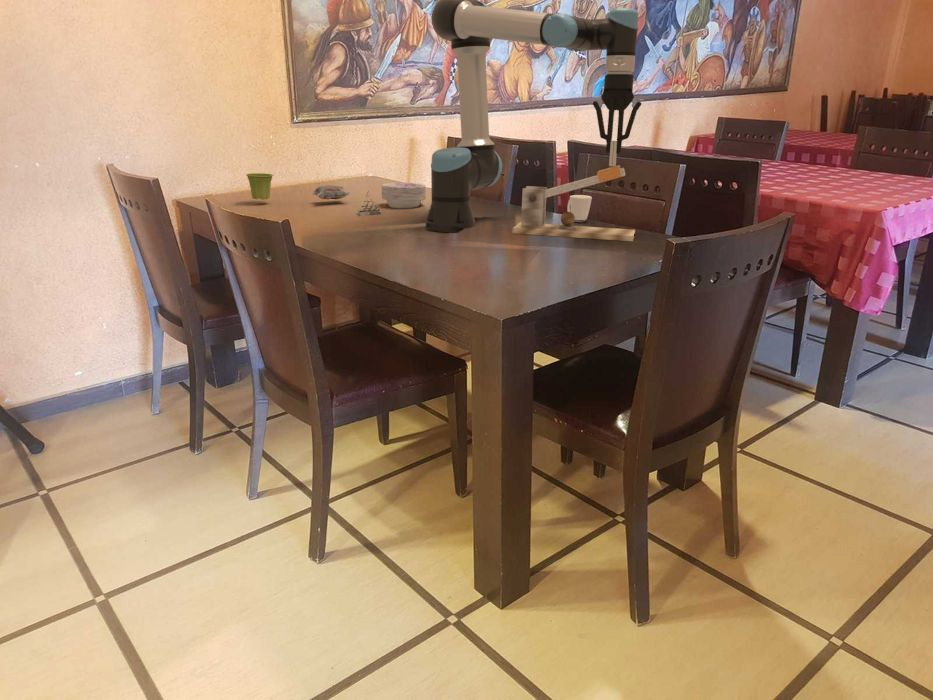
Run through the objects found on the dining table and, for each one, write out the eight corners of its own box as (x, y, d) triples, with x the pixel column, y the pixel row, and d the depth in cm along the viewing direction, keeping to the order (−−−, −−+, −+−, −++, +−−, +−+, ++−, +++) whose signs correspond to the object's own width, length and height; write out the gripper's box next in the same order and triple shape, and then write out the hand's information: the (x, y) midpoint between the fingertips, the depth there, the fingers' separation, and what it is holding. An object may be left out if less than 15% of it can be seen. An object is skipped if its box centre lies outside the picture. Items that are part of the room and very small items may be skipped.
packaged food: (349, 200, 252) (349, 186, 251) (317, 201, 248) (316, 187, 246) (343, 197, 260) (343, 184, 258) (312, 198, 255) (311, 185, 254)
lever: (529, 204, 198) (526, 192, 198) (532, 202, 202) (529, 190, 201) (625, 177, 189) (622, 165, 188) (626, 176, 193) (623, 163, 192)
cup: (576, 224, 214) (578, 198, 211) (558, 219, 223) (559, 194, 220) (594, 223, 217) (596, 197, 214) (576, 218, 225) (578, 193, 223)
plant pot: (264, 196, 261) (263, 172, 258) (279, 199, 256) (278, 175, 253) (242, 198, 255) (241, 174, 252) (257, 201, 249) (255, 176, 246)
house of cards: (382, 211, 235) (381, 188, 232) (386, 215, 227) (385, 191, 224) (355, 212, 233) (354, 188, 230) (359, 216, 225) (358, 192, 222)
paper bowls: (419, 203, 250) (419, 181, 248) (430, 210, 237) (430, 186, 234) (378, 205, 246) (377, 182, 243) (387, 211, 232) (386, 187, 230)
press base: (512, 233, 200) (514, 189, 195) (519, 227, 209) (521, 185, 204) (632, 241, 191) (637, 195, 187) (634, 234, 200) (639, 191, 196)
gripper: (592, 73, 181) (586, 166, 189) (644, 73, 177) (636, 167, 186) (595, 74, 188) (589, 163, 196) (645, 74, 184) (637, 165, 192)
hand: (612, 165), depth 191 cm, fingers closed
